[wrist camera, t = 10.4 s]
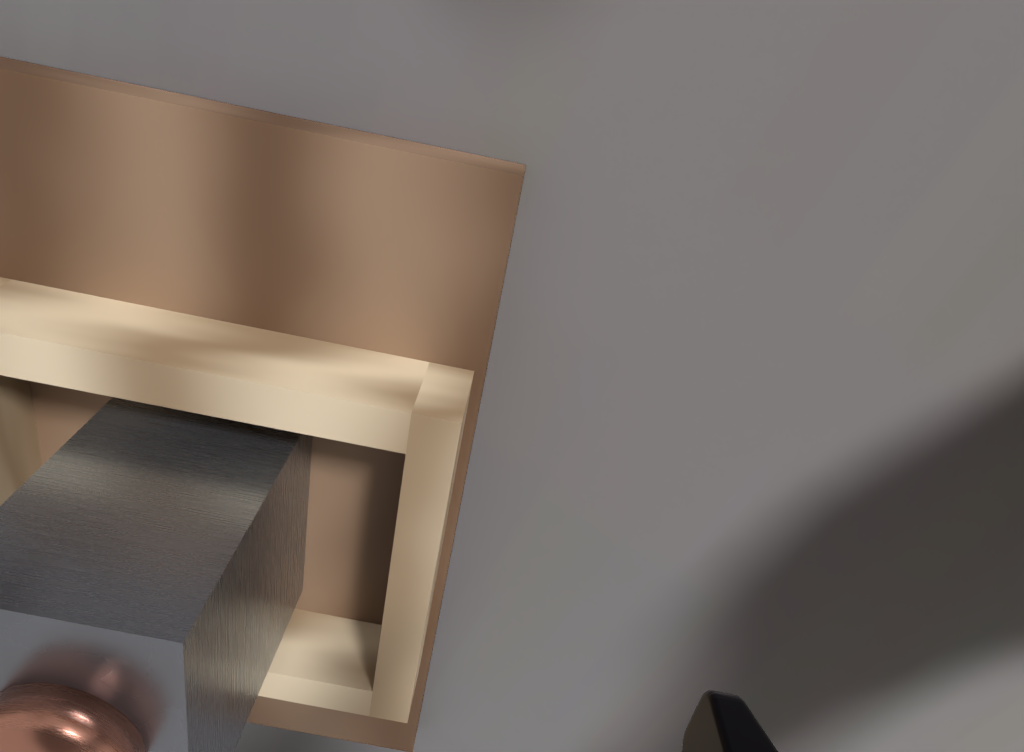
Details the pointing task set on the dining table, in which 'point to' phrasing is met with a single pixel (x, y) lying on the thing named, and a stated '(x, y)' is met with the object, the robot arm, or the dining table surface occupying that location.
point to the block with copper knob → (149, 581)
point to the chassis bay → (265, 339)
